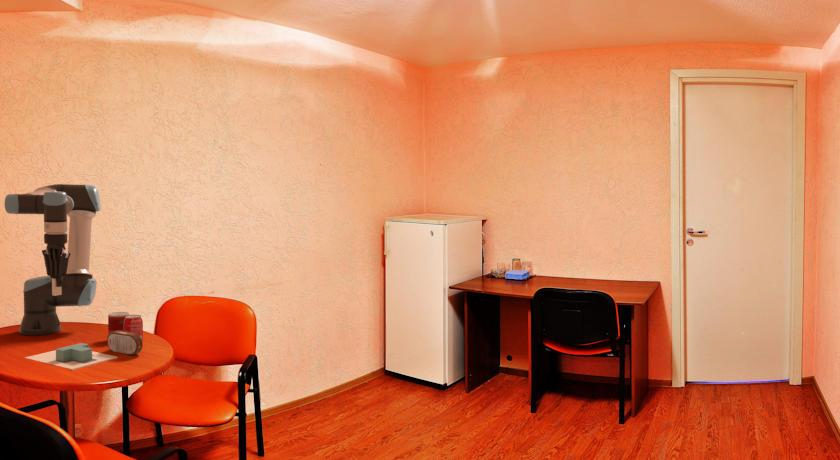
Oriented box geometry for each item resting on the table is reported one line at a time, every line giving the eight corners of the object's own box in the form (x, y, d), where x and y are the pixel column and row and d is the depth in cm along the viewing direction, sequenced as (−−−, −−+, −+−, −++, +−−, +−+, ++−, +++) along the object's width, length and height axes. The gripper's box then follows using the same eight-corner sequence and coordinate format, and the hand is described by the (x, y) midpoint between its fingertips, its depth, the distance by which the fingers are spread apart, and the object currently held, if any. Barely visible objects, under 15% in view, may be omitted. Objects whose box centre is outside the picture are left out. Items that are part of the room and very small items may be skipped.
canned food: (121, 343, 252) (121, 316, 251) (103, 341, 253) (103, 314, 253) (133, 338, 259) (133, 312, 258) (116, 337, 261) (116, 311, 260)
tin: (143, 355, 237) (143, 333, 236) (136, 357, 234) (136, 335, 233) (112, 350, 242) (112, 328, 241) (105, 352, 239) (105, 330, 238)
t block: (81, 353, 234) (81, 342, 234) (99, 357, 230) (99, 346, 230) (55, 359, 225) (55, 348, 225) (74, 364, 221) (74, 353, 221)
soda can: (127, 343, 252) (127, 314, 251) (145, 343, 252) (145, 314, 251) (120, 348, 245) (120, 318, 244) (139, 348, 245) (139, 318, 244)
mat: (70, 347, 243) (70, 346, 243) (117, 358, 232) (117, 356, 232) (24, 358, 227) (24, 357, 227) (71, 370, 215) (71, 369, 215)
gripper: (34, 232, 232) (35, 294, 235) (57, 235, 227) (59, 299, 230) (53, 230, 239) (54, 290, 242) (76, 233, 234) (77, 295, 236)
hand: (56, 294), depth 236 cm, fingers closed
